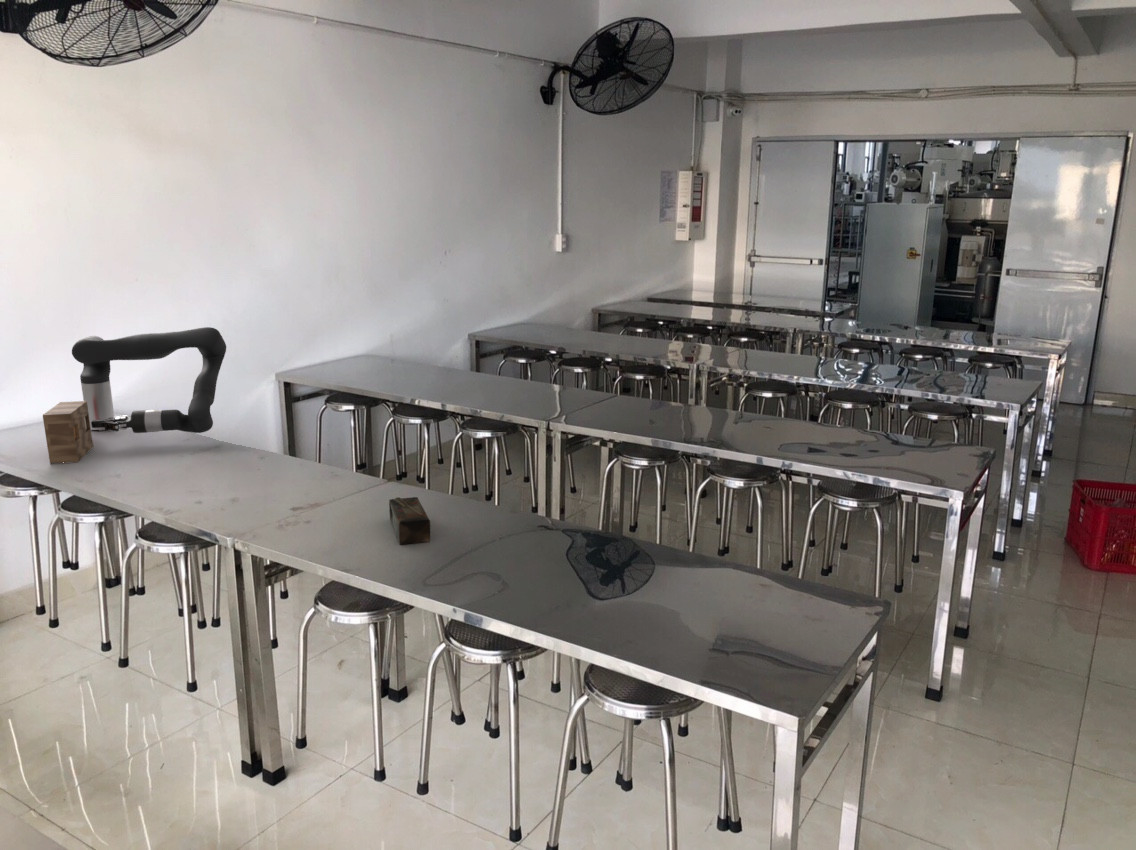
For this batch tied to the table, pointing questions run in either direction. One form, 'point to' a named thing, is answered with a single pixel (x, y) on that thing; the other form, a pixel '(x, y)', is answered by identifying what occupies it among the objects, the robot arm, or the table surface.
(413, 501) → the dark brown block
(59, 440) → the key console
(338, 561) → the table surface
